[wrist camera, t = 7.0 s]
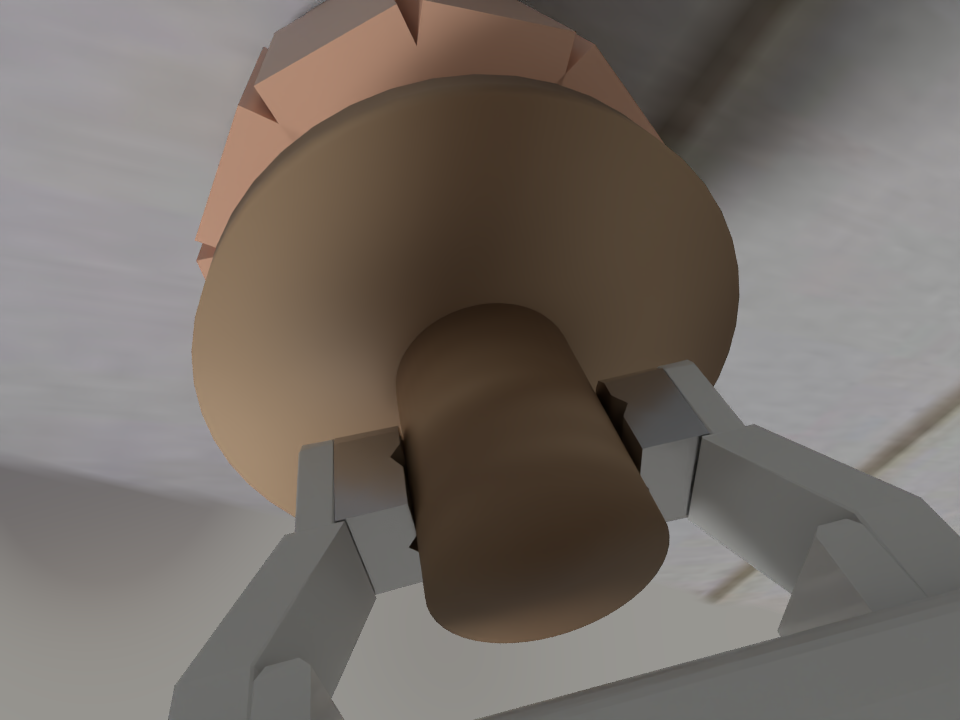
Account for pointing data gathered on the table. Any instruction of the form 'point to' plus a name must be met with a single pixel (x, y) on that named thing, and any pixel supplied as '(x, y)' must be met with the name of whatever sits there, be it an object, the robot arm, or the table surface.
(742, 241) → the table surface
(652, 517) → the lid
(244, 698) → the robot arm
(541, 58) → the faceted hollow tube
